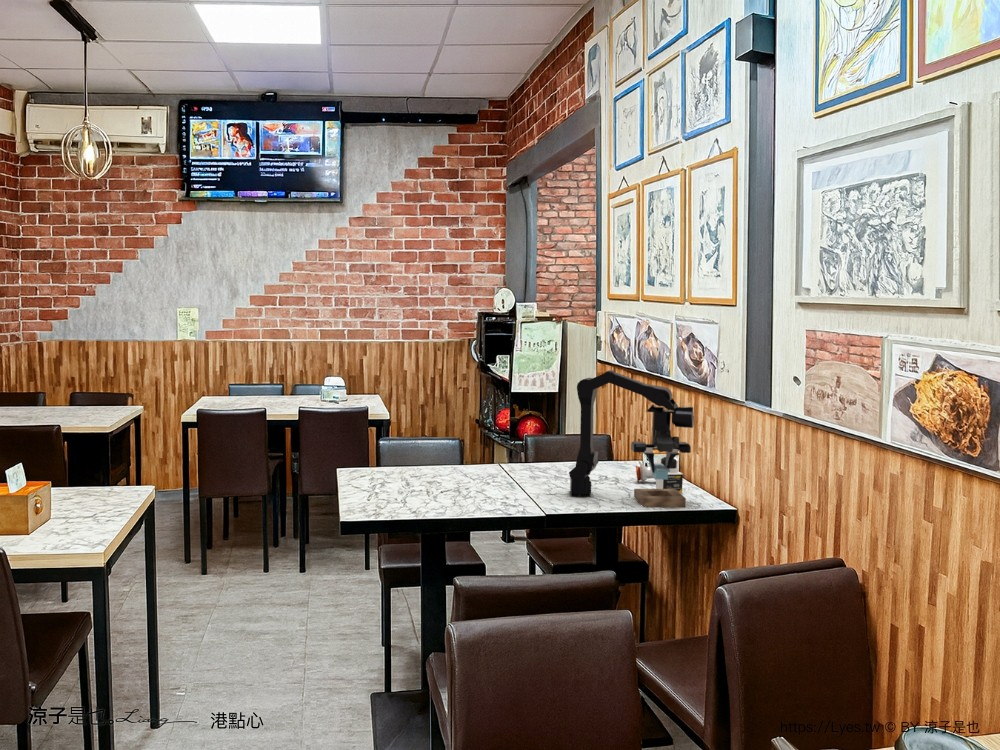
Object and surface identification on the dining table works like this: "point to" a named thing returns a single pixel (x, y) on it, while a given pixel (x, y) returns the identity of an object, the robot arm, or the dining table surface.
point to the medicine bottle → (671, 477)
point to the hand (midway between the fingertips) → (659, 473)
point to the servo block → (660, 471)
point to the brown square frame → (660, 497)
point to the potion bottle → (645, 472)
